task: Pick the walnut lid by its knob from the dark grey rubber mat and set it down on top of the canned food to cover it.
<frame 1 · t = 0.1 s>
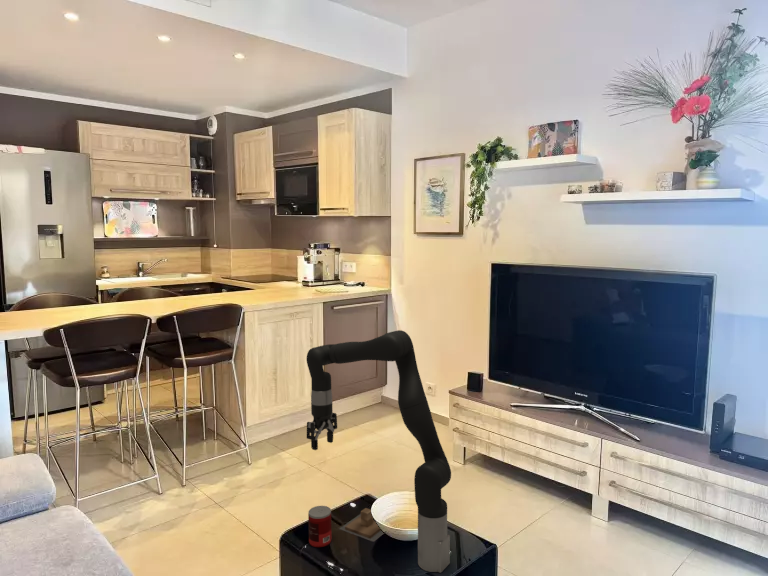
hand: (322, 445, 192), 29 cm above the table, fingers open, 8 cm apart
mat: (366, 528, 191), on the table
canned food: (320, 542, 182), on the table
lid: (366, 526, 191), resting on mat
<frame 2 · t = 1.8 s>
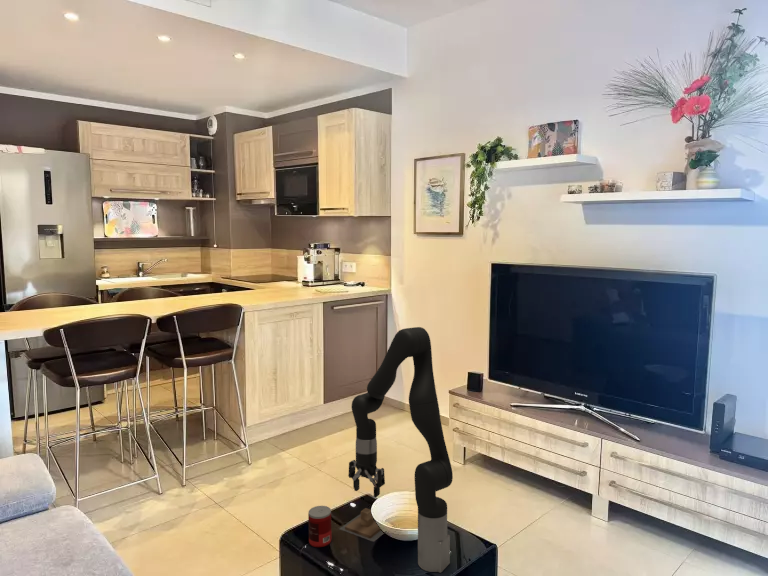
hand: (366, 493, 190), 13 cm above the table, fingers open, 8 cm apart
nothing on the table moved.
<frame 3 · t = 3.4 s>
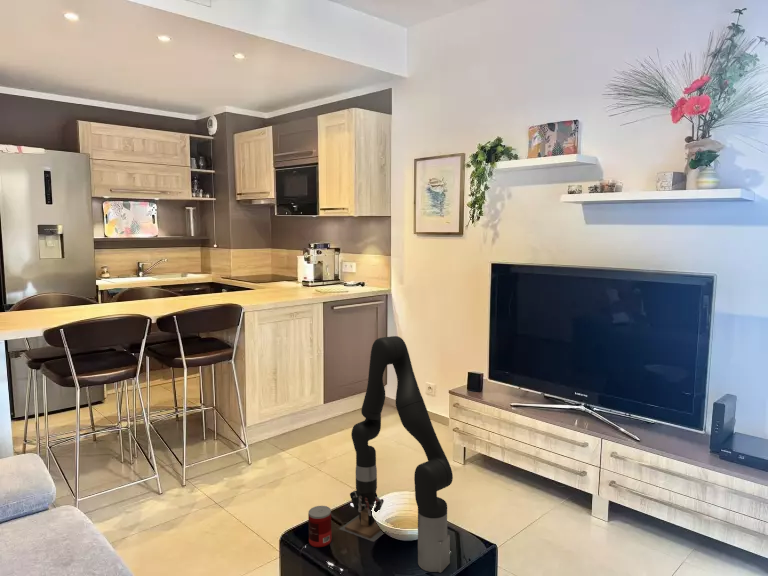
hand: (366, 522, 191), 2 cm above the table, fingers closed on lid, 3 cm apart
lid: (366, 526, 191), resting on mat, touching gripper
everything else where it was.
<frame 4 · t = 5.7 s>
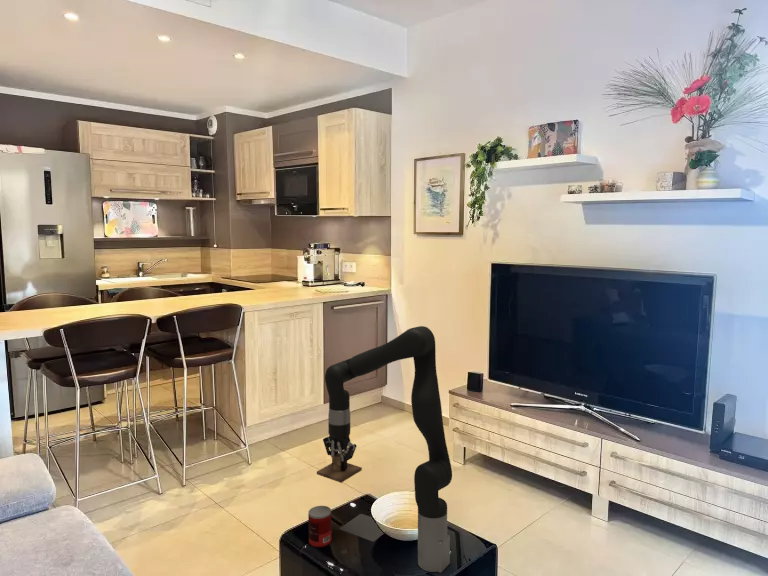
hand: (339, 468, 185), 24 cm above the table, fingers closed on lid, 3 cm apart
lid: (339, 472, 185), point 23 cm above the table, touching gripper
everything else where it was.
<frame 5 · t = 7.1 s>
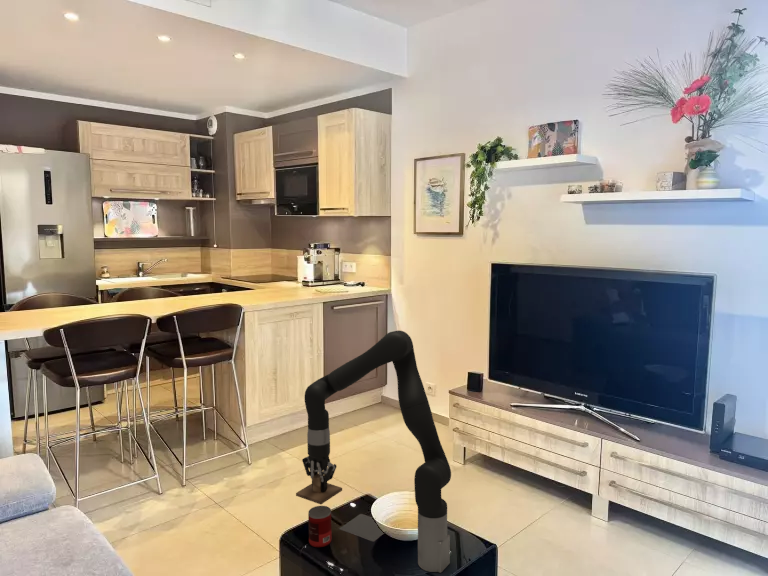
hand: (319, 489, 181), 18 cm above the table, fingers closed on lid, 3 cm apart
lid: (319, 493, 181), point 17 cm above the table, touching gripper
everything else where it was.
when the fingers open (14 cm above the table, at t = 8.2 s): lid drops 2 cm, resting on canned food.
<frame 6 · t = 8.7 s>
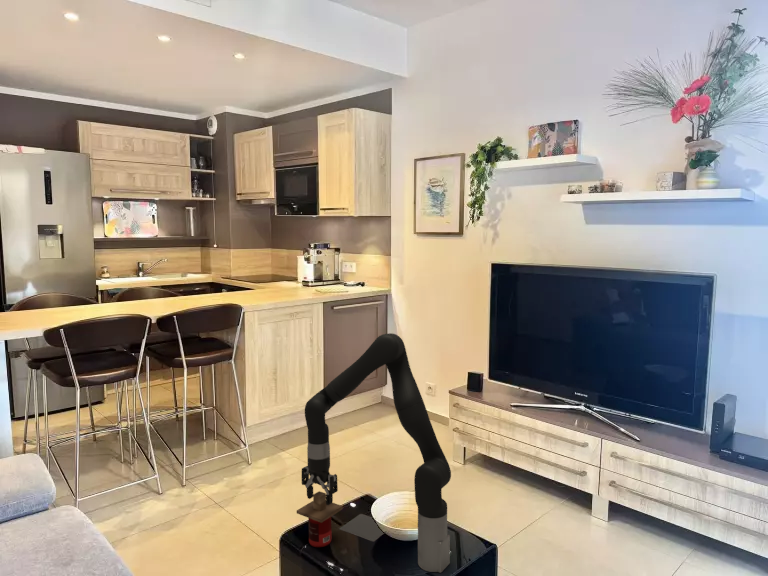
hand: (319, 500, 181), 15 cm above the table, fingers open, 8 cm apart
canned food: (320, 542, 182), on the table, touching lid
lid: (319, 511, 181), point 11 cm above the table, touching canned food
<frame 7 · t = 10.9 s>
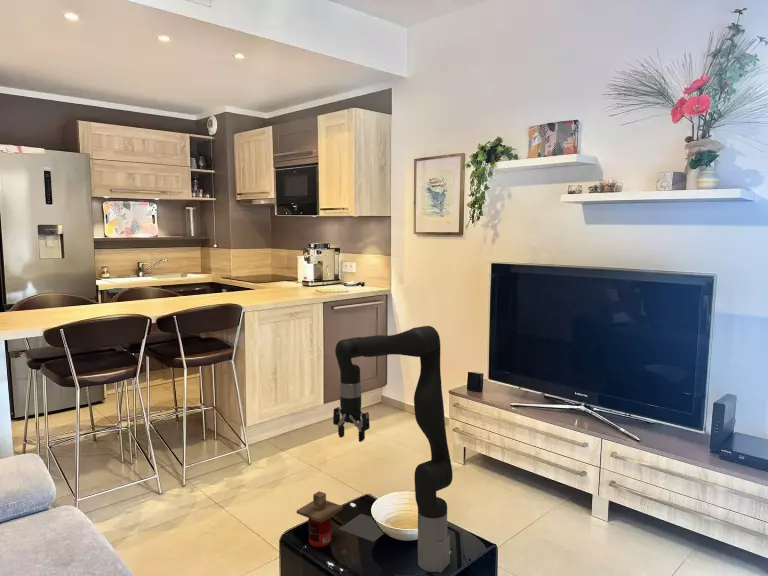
hand: (351, 438, 191), 32 cm above the table, fingers open, 8 cm apart
nothing on the table moved.
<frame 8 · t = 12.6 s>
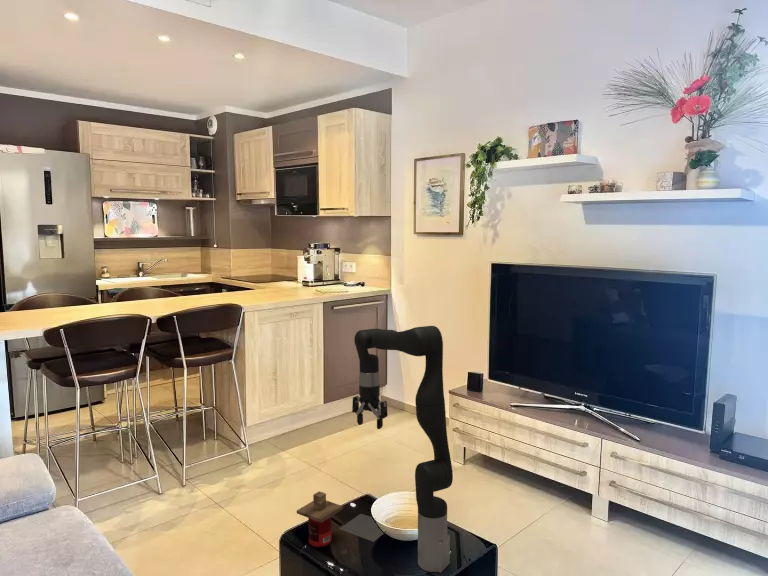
hand: (369, 426, 197), 34 cm above the table, fingers open, 8 cm apart
nothing on the table moved.
at the end: lid inside the target area on the canned food (0.1 cm from its centre), point 11.2 cm above the canned food's base; lid tilted 0°; the gripper is holding nothing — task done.
